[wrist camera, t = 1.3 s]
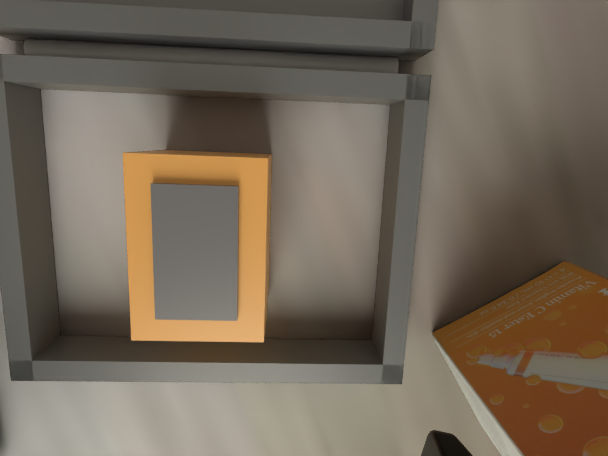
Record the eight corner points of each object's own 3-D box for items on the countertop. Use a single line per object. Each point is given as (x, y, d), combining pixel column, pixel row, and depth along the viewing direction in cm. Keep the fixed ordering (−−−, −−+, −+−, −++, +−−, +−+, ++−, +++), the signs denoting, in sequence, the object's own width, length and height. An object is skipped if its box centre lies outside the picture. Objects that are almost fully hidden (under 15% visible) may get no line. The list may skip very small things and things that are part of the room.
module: (170, 290, 21) (128, 344, 16) (166, 149, 20) (119, 152, 14) (268, 292, 22) (263, 346, 16) (272, 154, 20) (267, 158, 14)
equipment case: (42, 353, 21) (10, 380, 19) (15, 64, 19) (-26, 52, 16) (389, 357, 22) (402, 384, 20) (412, 83, 20) (431, 75, 17)
